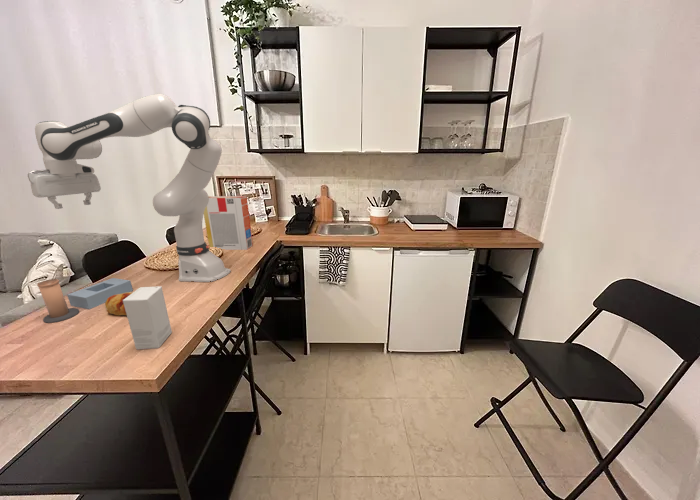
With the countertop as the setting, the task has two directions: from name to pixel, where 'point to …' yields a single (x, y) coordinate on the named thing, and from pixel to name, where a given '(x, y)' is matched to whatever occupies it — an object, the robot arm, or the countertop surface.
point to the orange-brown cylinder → (53, 298)
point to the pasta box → (228, 222)
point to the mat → (52, 320)
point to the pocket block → (99, 293)
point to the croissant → (117, 304)
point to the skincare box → (147, 317)
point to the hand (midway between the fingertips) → (73, 206)
